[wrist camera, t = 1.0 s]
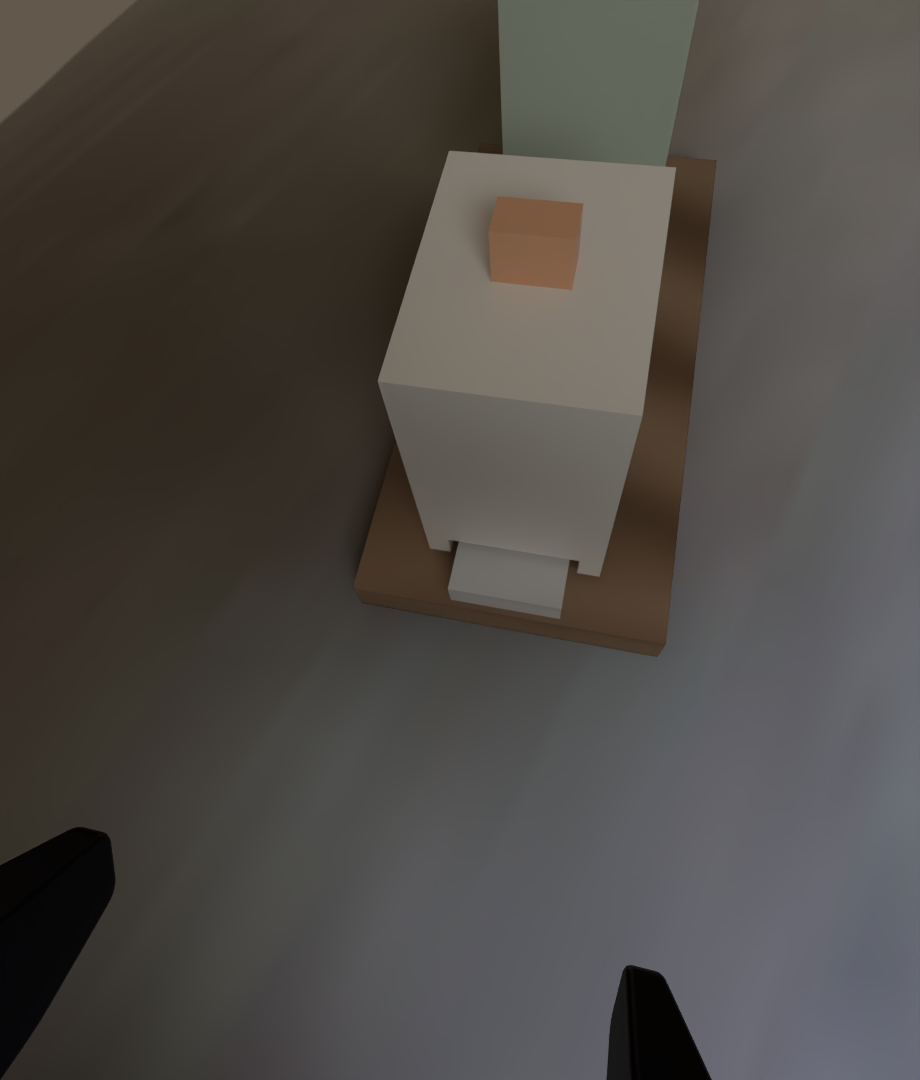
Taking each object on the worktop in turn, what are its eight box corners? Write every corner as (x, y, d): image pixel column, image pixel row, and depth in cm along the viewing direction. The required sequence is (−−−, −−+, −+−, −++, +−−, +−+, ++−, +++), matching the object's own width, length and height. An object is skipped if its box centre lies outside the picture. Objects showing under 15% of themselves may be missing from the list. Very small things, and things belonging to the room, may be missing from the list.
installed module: (646, 258, 27) (698, 2, 19) (505, 244, 28) (497, -5, 20) (662, 149, 30) (715, -120, 21) (532, 140, 30) (534, -122, 22)
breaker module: (599, 576, 22) (654, 371, 13) (429, 548, 23) (363, 337, 14) (626, 393, 25) (688, 111, 15) (473, 373, 26) (443, 95, 16)
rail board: (656, 656, 23) (671, 635, 21) (362, 602, 25) (345, 577, 22) (708, 190, 31) (722, 138, 29) (482, 173, 32) (479, 122, 30)
